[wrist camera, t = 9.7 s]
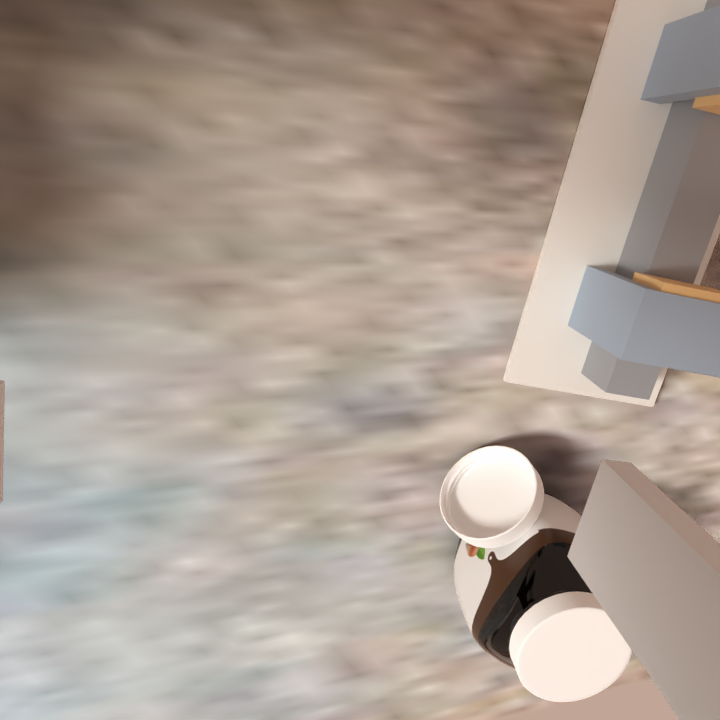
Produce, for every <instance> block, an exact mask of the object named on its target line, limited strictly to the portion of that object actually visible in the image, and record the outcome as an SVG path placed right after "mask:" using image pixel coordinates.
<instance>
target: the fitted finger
mask: <svg viewBox="0 0 720 720" xmlns="http://www.w3.org/2000/svg"><path fill="white" fill-rule="evenodd" d="M692 99H695V101H694V103H693V106H692V108H695V109H699V110H703V111H707V112H711V113H715V114H719V115H720V5H719V6H716V7H713V8H710V9H707V10H704V11H702V12H699V13H696V14H693V15H690V16H687V17H685V18H682V19H679V20H676V21H673V22H670V23H668V24H665V25H664V28H663V31H662V34H661V37H660V40H659V44H658V47H657V50H656V53H655V56H654V59H653V62H652V65H651V68H650V71H649V74H648V78H647V81H646V84H645V87H644V90H643V93H642V96H641V100H645V101H649V102H653V103H657V104H663V103H670V102H678V101H685V100H692Z"/></svg>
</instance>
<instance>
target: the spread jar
mask: <svg viewBox="0 0 720 720" xmlns="http://www.w3.org/2000/svg"><path fill="white" fill-rule="evenodd" d="M440 509H441V513H442V516H443V518H444V520H445V522H446V523H447V525H448V526H449V527H450V528H451V529H452V530H453V531H454V532H455V533H456V534H457V535H458V536H459V537H460V540H459V544H458V547H457V551H456V556H455V563H454V584H455V589H456V592H457V596H458V599H459V602H460V605H461V608H462V611H463V614H464V617H465V619H466V622H467V624H468V627H469V629H470V631H471V633H472V635H473V637H474V638H475V640H476V641H477V642H478V644H479V645H480V646H481V647H482V648H483V649H484V650H485V651H486V652H487V653H489V654H490V655H492V656H493V657H494V658H496V659H497V660H499V661H500V662H502V663H504V664H506V665H508V666H510V667H512V668H515V669H516V671H517V674H518V676H519V678H520V681H521V683H522V684H523V685H524V686H525V688H526V689H527V690H528V691H530V692H531V693H532V694H534V695H536V696H538V697H540V698H542V699H545V700H549V701H555V702H571V701H577V700H581V699H585V698H588V697H590V696H593V695H595V694H597V693H599V692H601V691H602V690H604V689H606V688H607V687H608V686H610V685H611V684H612V683H613V682H614V681H615V680H616V679H617V678H618V677H619V676H620V675H621V674H622V672H623V671H624V669H625V668H626V666H627V664H628V662H629V660H630V657H631V653H632V650H631V648H630V647H629V646H628V644H627V643H626V641H625V640H624V638H623V637H622V635H621V634H620V632H619V631H618V630H617V628H616V627H615V625H614V624H613V622H612V621H611V619H610V618H609V616H608V615H607V614H606V612H605V611H604V609H603V608H602V606H601V605H600V603H599V602H598V600H597V599H596V598H595V596H594V595H593V593H592V592H591V590H590V589H589V587H588V586H587V584H586V583H585V582H584V580H583V579H582V577H581V576H580V574H579V573H578V571H577V570H576V568H575V567H574V566H573V564H572V563H571V561H570V560H569V558H568V557H567V556H568V553H569V550H570V547H571V544H572V542H573V539H574V536H575V533H576V530H577V528H578V525H579V522H580V519H581V517H582V516H581V515H580V514H578V513H577V512H576V511H575V510H574V509H572V508H571V507H569V506H568V505H566V504H565V503H563V502H562V501H560V500H558V499H556V498H554V497H552V496H550V495H547V494H545V493H544V488H543V483H542V480H541V478H540V475H539V474H538V472H537V471H536V469H535V468H534V467H533V465H532V464H531V463H530V461H529V460H528V458H527V457H525V456H524V455H523V454H522V453H521V452H519V451H517V450H515V449H513V448H510V447H506V446H496V445H495V446H486V447H483V448H479V449H477V450H474V451H472V452H470V453H468V454H467V455H465V456H464V457H463V458H461V459H460V460H459V461H458V462H457V463H456V464H455V465H454V466H453V467H452V468H451V470H450V471H449V472H448V474H447V476H446V478H445V479H444V482H443V485H442V488H441V492H440Z"/></svg>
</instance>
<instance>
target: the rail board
mask: <svg viewBox="0 0 720 720" xmlns="http://www.w3.org/2000/svg"><path fill="white" fill-rule="evenodd" d="M719 5H720V0H616V2H615V5H614V9H613V12H612V15H611V19H610V22H609V25H608V29H607V32H606V36H605V39H604V42H603V46H602V49H601V52H600V56H599V59H598V62H597V66H596V69H595V72H594V76H593V79H592V82H591V86H590V89H589V93H588V96H587V99H586V103H585V106H584V109H583V113H582V116H581V119H580V123H579V126H578V129H577V133H576V136H575V139H574V143H573V146H572V150H571V153H570V156H569V160H568V163H567V166H566V170H565V173H564V176H563V180H562V183H561V186H560V190H559V193H558V196H557V200H556V203H555V207H554V210H553V213H552V217H551V220H550V223H549V227H548V230H547V233H546V237H545V240H544V243H543V247H542V250H541V253H540V257H539V260H538V264H537V267H536V270H535V274H534V277H533V280H532V284H531V287H530V290H529V294H528V297H527V300H526V304H525V307H524V310H523V314H522V317H521V321H520V324H519V327H518V331H517V334H516V337H515V341H514V344H513V347H512V351H511V354H510V357H509V361H508V364H507V368H506V371H505V374H504V378H503V380H504V381H505V382H509V383H515V384H521V385H527V386H533V387H539V388H544V389H550V390H556V391H562V392H568V393H574V394H580V395H586V396H591V397H597V398H603V399H609V400H615V401H621V402H627V403H632V404H638V405H644V406H650V407H653V406H654V404H655V401H656V398H657V396H658V393H659V390H660V388H661V385H662V383H663V380H664V377H665V375H666V372H667V370H668V368H664V367H659V366H653V365H648V364H642V363H637V362H631V361H625V360H621V359H619V358H618V357H616V356H614V355H613V354H611V353H610V352H608V351H607V350H605V349H604V348H602V347H600V346H599V345H597V344H596V343H594V342H593V341H591V340H590V339H588V338H586V337H585V336H583V335H582V334H580V333H579V332H577V331H575V330H574V329H572V328H571V327H569V326H568V322H569V319H570V316H571V313H572V310H573V307H574V304H575V301H576V298H577V295H578V291H579V288H580V285H581V282H582V279H583V276H584V273H585V270H586V267H587V266H591V267H596V268H601V269H605V270H608V271H610V272H613V273H615V274H618V275H621V276H623V277H626V278H629V279H631V280H632V279H633V276H634V273H635V272H638V273H643V274H647V275H652V276H657V277H662V278H667V279H672V280H676V281H681V282H686V283H691V284H696V285H700V284H701V281H702V278H703V276H704V273H705V271H706V268H707V265H708V263H709V260H710V258H711V255H712V252H713V250H714V247H715V245H716V242H717V239H718V237H719V234H720V115H719V114H715V113H711V112H707V111H703V110H699V109H695V108H692V106H693V103H694V101H695V99H692V100H685V101H678V102H670V103H663V104H657V103H653V102H649V101H645V100H641V96H642V93H643V90H644V87H645V84H646V81H647V78H648V74H649V71H650V68H651V65H652V62H653V59H654V56H655V53H656V50H657V47H658V44H659V40H660V37H661V34H662V31H663V28H664V25H665V24H668V23H670V22H673V21H676V20H679V19H682V18H685V17H687V16H690V15H693V14H696V13H699V12H702V11H704V10H707V9H710V8H713V7H716V6H719Z"/></svg>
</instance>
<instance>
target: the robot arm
mask: <svg viewBox="0 0 720 720" xmlns="http://www.w3.org/2000/svg"><path fill="white" fill-rule="evenodd" d="M4 392H5V381H2V380H0V503H1V502H2V501H3V452H4ZM567 557H568V558H569V560H570V561H571V563H572V564H573V566H574V567H575V568H576V570H577V571H578V573H579V574H580V576H581V577H582V579H583V580H584V582H585V583H586V584H587V586H588V587H589V589H590V590H591V592H592V593H593V595H594V596H595V598H596V599H597V600H598V602H599V603H600V605H601V606H602V608H603V609H604V611H605V612H606V614H607V615H608V616H609V618H610V619H611V621H612V622H613V624H614V625H615V627H616V628H617V630H618V631H619V632H620V634H621V635H622V637H623V638H624V640H625V641H626V643H627V644H628V646H629V647H630V648H631V650H632V651H633V653H634V654H635V656H636V657H637V659H638V660H639V662H640V663H641V664H642V666H643V667H644V669H645V670H646V672H647V673H648V675H649V676H650V678H651V679H652V680H653V682H654V683H655V685H656V686H657V688H658V689H659V690H660V692H661V694H662V695H663V696H664V698H665V699H666V701H667V702H668V704H669V705H670V707H671V708H672V709H673V711H674V712H675V714H676V715H677V717H678V718H679V720H720V544H719V543H718V542H717V541H716V540H715V539H714V538H713V537H711V536H710V535H709V534H708V533H707V532H706V531H705V530H704V529H703V528H702V527H701V526H699V525H698V524H697V523H696V522H695V521H694V520H693V519H692V518H691V517H690V516H689V515H687V514H686V513H685V512H684V511H683V510H682V509H681V508H680V507H679V506H678V505H677V504H675V503H674V502H673V501H672V500H671V499H670V498H669V497H668V496H667V495H666V494H664V493H663V492H662V491H661V490H660V489H659V488H658V487H657V486H656V485H655V484H654V483H652V482H651V481H650V480H649V479H648V478H647V477H646V476H645V475H644V474H643V473H642V472H640V471H639V470H638V469H637V468H636V467H635V466H634V465H633V464H632V463H627V462H620V461H612V460H605V459H602V461H601V464H600V467H599V469H598V472H597V475H596V478H595V480H594V483H593V486H592V489H591V492H590V494H589V497H588V500H587V503H586V505H585V508H584V511H583V514H582V517H581V519H580V522H579V525H578V528H577V530H576V533H575V536H574V539H573V542H572V544H571V547H570V550H569V553H568V556H567Z"/></svg>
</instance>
